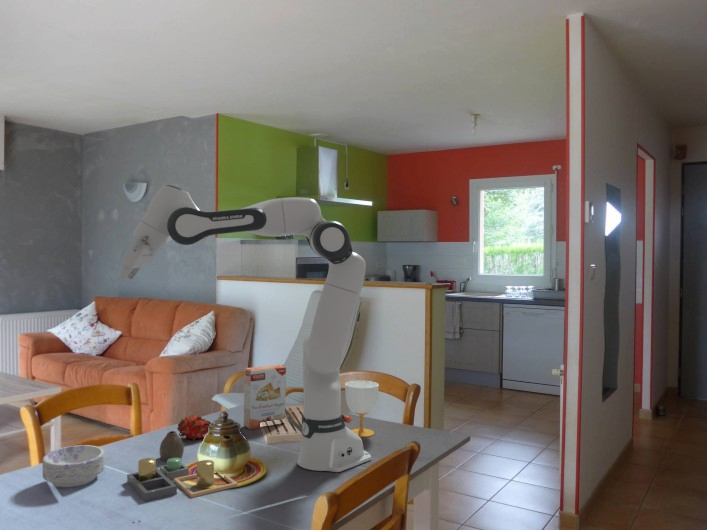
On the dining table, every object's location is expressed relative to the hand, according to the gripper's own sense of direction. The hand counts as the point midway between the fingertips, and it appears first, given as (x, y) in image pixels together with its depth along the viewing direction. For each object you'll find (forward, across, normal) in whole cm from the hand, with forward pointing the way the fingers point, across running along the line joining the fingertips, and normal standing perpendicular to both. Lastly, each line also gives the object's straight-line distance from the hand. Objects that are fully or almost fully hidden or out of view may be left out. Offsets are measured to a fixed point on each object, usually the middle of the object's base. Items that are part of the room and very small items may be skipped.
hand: (125, 279), depth 171 cm
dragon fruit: (+40, +27, -40) cm, 63 cm away
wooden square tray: (+36, -15, -47) cm, 61 cm away
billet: (+36, -15, -47) cm, 61 cm away
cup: (+13, +27, -89) cm, 94 cm away
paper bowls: (+53, -8, -16) cm, 56 cm away
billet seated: (+43, -13, -33) cm, 56 cm away
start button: (+39, -8, -38) cm, 55 cm away
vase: (+42, +6, -37) cm, 56 cm away
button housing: (+41, -8, -39) cm, 57 cm away
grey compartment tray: (+43, -16, -35) cm, 58 cm away
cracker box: (+29, +40, -60) cm, 78 cm away
